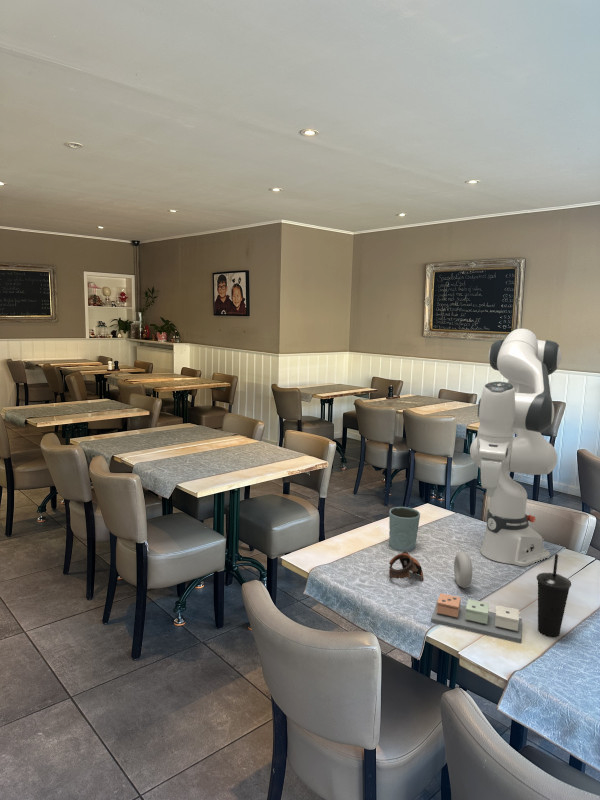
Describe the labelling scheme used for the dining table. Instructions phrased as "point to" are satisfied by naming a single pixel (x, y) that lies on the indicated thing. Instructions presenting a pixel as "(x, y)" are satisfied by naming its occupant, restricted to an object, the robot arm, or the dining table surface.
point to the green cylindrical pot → (403, 528)
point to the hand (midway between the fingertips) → (490, 495)
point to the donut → (463, 569)
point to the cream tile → (507, 618)
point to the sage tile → (477, 611)
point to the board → (478, 625)
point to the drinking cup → (551, 601)
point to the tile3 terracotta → (448, 605)
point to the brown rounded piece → (405, 566)
